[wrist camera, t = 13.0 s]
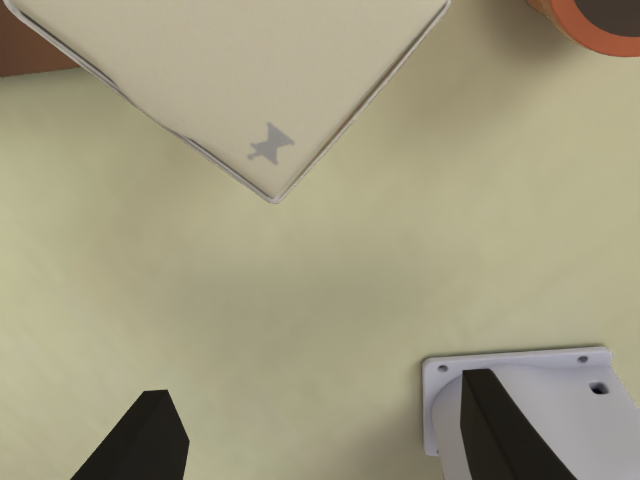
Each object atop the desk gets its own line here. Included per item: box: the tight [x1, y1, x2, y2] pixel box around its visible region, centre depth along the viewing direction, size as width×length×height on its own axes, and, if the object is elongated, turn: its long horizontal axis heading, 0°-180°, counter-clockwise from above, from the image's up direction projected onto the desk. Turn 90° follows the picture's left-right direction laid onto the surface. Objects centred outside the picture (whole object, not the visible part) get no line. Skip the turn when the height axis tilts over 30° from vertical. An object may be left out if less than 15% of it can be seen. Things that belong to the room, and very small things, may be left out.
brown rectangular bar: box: [0, 0, 81, 78], centre depth 15 cm, size 8×3×3 cm, turn 97°
